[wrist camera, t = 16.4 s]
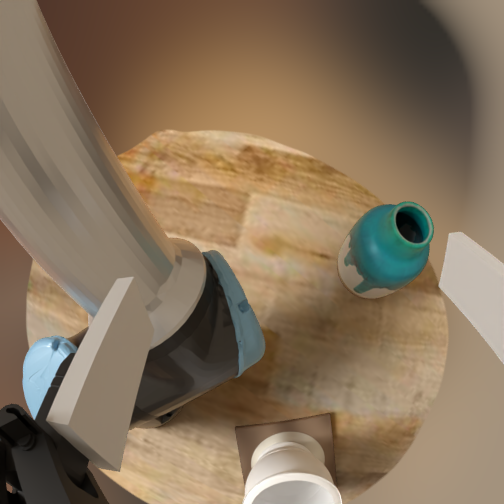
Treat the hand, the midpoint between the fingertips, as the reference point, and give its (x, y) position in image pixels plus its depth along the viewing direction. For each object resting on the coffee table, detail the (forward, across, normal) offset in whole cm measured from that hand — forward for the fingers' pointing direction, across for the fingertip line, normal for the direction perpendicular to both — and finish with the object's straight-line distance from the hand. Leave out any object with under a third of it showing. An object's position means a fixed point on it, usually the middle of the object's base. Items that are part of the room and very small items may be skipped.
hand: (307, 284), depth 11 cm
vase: (+29, +15, -19) cm, 38 cm away
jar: (+8, -1, -38) cm, 39 cm away
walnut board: (+9, -1, -39) cm, 40 cm away
